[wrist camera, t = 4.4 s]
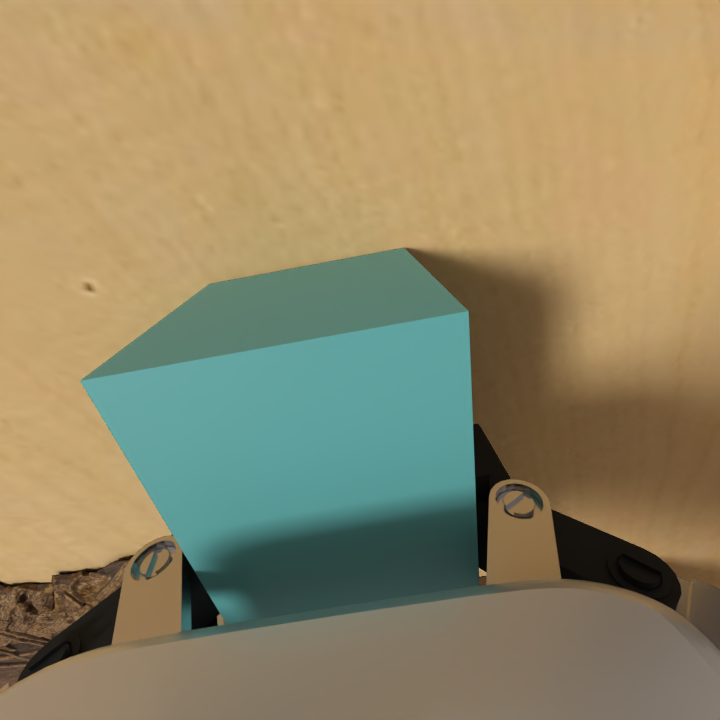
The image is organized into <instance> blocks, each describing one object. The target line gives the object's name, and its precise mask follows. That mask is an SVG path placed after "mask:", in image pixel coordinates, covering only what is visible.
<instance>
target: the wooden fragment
mask: <svg viewBox="0 0 720 720" xmlns="http://www.w3.org/2000/svg"><path fill="white" fill-rule="evenodd" d="M130 560H131V559H128V560H122V561H116V562H113V563H110V565H107V566H106V567H104V568H102V569H101V570H99V571H96V572H91V573H87V572H86V571H80V572H77V573H73V574H62V575H52V583H43V584H39V585H37V584H31V583H28V584H23V585H18V586H14V587H10V585H9V586H8V587H4V586H3V585H1V584H0V689H1V688H2V687H3V686H5V685H6V684H7V683H10V684H11V685H14V684H15V683H17V681H18V678H19V676H20V674H21V672H22V671H23V669H24V668H25V666H26V665H27V663H28V662H29V661H30V660H31V658H32V657H33V656H34V655H35V654H36V653H37V652H38V651H39V650H40V649H41V648H42V647H43V646H44V645H46V644H47V643H48V642H49V641H50V640H52V639H53V638H54V637H56V636H57V635H58V634H59V633H61V632H62V631H63V630H65V629H66V628H67V627H69V626H70V625H71V624H72V623H74V622H75V621H76V620H78V619H79V618H80V617H82V616H83V615H84V614H86V613H87V612H88V611H89V610H91V609H92V608H93V607H95V606H96V605H97V604H99V603H100V602H101V601H102V600H104V599H105V598H106V597H108V596H109V595H110V594H112V593H113V592H114V591H116V590H117V589H118V588H119V587H121V586H122V582H123V576H124V572H125V569H126V566H127V564H128V563H129V561H130ZM223 623H224V625H226V623H225V621H224V619H223Z"/></svg>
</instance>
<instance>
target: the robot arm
mask: <svg viewBox="0 0 720 720" xmlns="http://www.w3.org/2000/svg"><path fill="white" fill-rule="evenodd" d="M473 437H474V462H475V488H476V514H477V540H478V566H479V568H480V569H482V570H484V571H485V572H487V581H486V585H483V586H475V587H467V588H460V589H453V590H446V591H439V592H433V593H426V594H419V595H412V596H406V597H399V598H392V599H386V600H379V601H372V602H366V603H359V604H353V605H346V606H340V607H333V608H327V609H321V610H314V611H308V612H301V613H295V614H289V615H282V616H276V617H269V618H263V619H257V620H251V621H244V622H238V623H232V624H226V625H224V623H223V618H222V616H221V614H220V613H219V611H218V609H217V608H216V606H215V604H214V603H213V601H212V599H211V598H210V596H209V594H208V593H207V591H206V589H205V588H204V586H203V584H202V583H201V581H200V579H199V578H198V576H197V574H196V573H195V571H194V569H193V568H192V566H191V564H190V563H189V561H188V559H187V558H186V556H185V555H184V553H183V551H182V550H181V548H180V546H179V545H178V543H177V541H176V540H175V538H174V536H173V535H171V536H163V537H160V538H157V539H155V540H153V541H151V542H149V543H148V544H146V545H145V546H144V547H142V548H141V549H140V550H139V551H138V552H137V553H136V554H135V555H134V556H133V557H132V558H131V560H130V561H129V563H128V564H127V566H126V569H125V572H124V576H123V582H122V586H121V587H119V588H118V589H117V590H116V591H114V592H113V593H112V594H110V595H109V596H108V597H106V598H105V599H104V600H102V601H101V602H100V603H99V604H97V605H96V606H95V607H93V608H92V609H91V610H89V611H88V612H87V613H86V614H84V615H83V616H82V617H80V618H79V619H78V620H76V621H75V622H74V623H72V624H71V625H70V626H69V627H67V628H66V629H65V630H63V631H62V632H61V633H59V634H58V635H57V636H56V637H54V638H53V639H52V640H50V641H49V642H48V643H47V644H46V645H44V646H43V647H42V648H41V649H40V650H39V651H38V652H37V653H36V654H35V655H34V656H33V657H32V658H31V660H30V661H29V662H28V663H27V665H26V666H25V668H24V669H23V671H22V672H21V674H20V676H19V678H18V681H17V683H15V684H14V685H11V684H10V683H7V684H6V685H5V686H3V687H2V688H1V689H0V720H720V589H718V588H716V587H713V586H711V585H709V584H706V583H704V582H702V581H699V580H697V579H695V578H693V579H692V582H689V581H687V580H684V579H682V578H680V577H678V576H676V574H675V573H674V572H673V570H672V569H671V568H670V567H669V566H668V565H667V564H666V563H665V562H664V561H663V560H661V559H660V558H659V557H657V556H656V555H655V554H653V553H651V552H649V551H647V550H645V549H643V548H641V547H638V546H636V545H634V544H631V543H629V542H627V541H624V540H622V539H620V538H617V537H615V536H613V535H610V534H608V533H606V532H603V531H601V530H599V529H596V528H594V527H592V526H589V525H587V524H584V523H582V522H580V521H577V520H575V519H573V518H570V517H568V516H566V515H563V514H561V513H559V512H556V511H554V510H552V509H551V505H550V502H549V499H548V497H547V496H546V494H545V493H544V492H543V491H542V490H541V489H540V488H538V487H537V486H536V485H534V484H532V483H529V482H527V481H523V480H518V479H510V477H509V475H508V473H507V472H506V470H505V468H504V467H503V465H502V463H501V461H500V460H499V458H498V456H497V454H496V453H495V451H494V449H493V448H492V446H491V444H490V442H489V441H488V439H487V437H486V435H485V434H484V432H483V430H482V429H481V427H480V426H479V424H473Z"/></svg>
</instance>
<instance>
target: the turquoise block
mask: <svg viewBox="0 0 720 720" xmlns="http://www.w3.org/2000/svg"><path fill="white" fill-rule="evenodd" d="M80 382H81V383H82V385H83V387H84V388H85V390H86V392H87V393H88V395H89V397H90V398H91V400H92V402H93V403H94V405H95V407H96V408H97V410H98V412H99V413H100V415H101V417H102V418H103V420H104V422H105V423H106V425H107V427H108V428H109V430H110V432H111V433H112V435H113V437H114V438H115V440H116V442H117V443H118V445H119V446H120V448H121V450H122V451H123V453H124V455H125V456H126V458H127V460H128V461H129V463H130V465H131V466H132V468H133V470H134V471H135V473H136V475H137V476H138V478H139V480H140V481H141V483H142V485H143V486H144V488H145V490H146V491H147V493H148V495H149V496H150V498H151V500H152V501H153V503H154V505H155V506H156V508H157V510H158V511H159V513H160V515H161V516H162V518H163V520H164V521H165V523H166V525H167V526H168V528H169V530H170V531H171V533H172V535H173V536H174V538H175V540H176V541H177V543H178V545H179V546H180V548H181V550H182V551H183V553H184V555H185V556H186V558H187V559H188V561H189V563H190V564H191V566H192V568H193V569H194V571H195V573H196V574H197V576H198V578H199V579H200V581H201V583H202V584H203V586H204V588H205V589H206V591H207V593H208V594H209V596H210V598H211V599H212V601H213V603H214V604H215V606H216V608H217V609H218V611H219V613H220V614H221V616H222V618H223V619H224V621H225V623H226V624H232V623H238V622H244V621H251V620H257V619H263V618H269V617H276V616H282V615H289V614H295V613H301V612H308V611H314V610H321V609H327V608H333V607H340V606H346V605H353V604H359V603H366V602H372V601H379V600H386V599H392V598H399V597H406V596H412V595H419V594H426V593H433V592H439V591H446V590H453V589H460V588H467V587H475V586H479V566H478V540H477V514H476V488H475V462H474V437H473V411H472V385H471V359H470V333H469V311H468V310H467V309H466V308H465V307H464V306H463V305H462V304H461V303H460V302H459V301H458V300H457V299H456V298H455V297H454V296H453V295H452V294H451V293H450V292H449V291H448V290H447V289H446V288H445V287H444V286H443V285H442V284H441V283H440V282H439V281H437V280H436V279H435V278H434V277H433V276H432V275H431V274H430V273H429V272H428V271H427V270H426V269H425V268H424V267H423V266H422V265H421V264H420V263H419V262H418V261H417V260H416V259H415V258H414V257H413V256H412V255H411V254H410V253H409V252H408V251H407V250H406V249H405V248H400V249H395V250H389V251H384V252H378V253H373V254H368V255H362V256H357V257H352V258H346V259H341V260H336V261H330V262H325V263H319V264H314V265H309V266H303V267H298V268H293V269H287V270H282V271H277V272H271V273H266V274H260V275H255V276H250V277H244V278H239V279H234V280H228V281H223V282H218V283H212V284H209V285H207V286H206V287H205V288H203V289H202V290H201V291H199V292H198V293H197V294H195V295H194V296H193V297H191V298H190V299H189V300H187V301H186V302H185V303H183V304H182V305H181V306H179V307H178V308H177V309H175V310H174V311H173V312H171V313H170V314H169V315H167V316H166V317H165V318H163V319H162V320H161V321H159V322H158V323H157V324H155V325H154V326H153V327H151V328H150V329H149V330H147V331H146V332H145V333H143V334H142V335H141V336H139V337H138V338H137V339H135V340H134V341H133V342H131V343H130V344H129V345H127V346H126V347H125V348H123V349H122V350H121V351H119V352H118V353H117V354H115V355H114V356H113V357H111V358H110V359H109V360H107V361H106V362H105V363H103V364H102V365H101V366H99V367H98V368H97V369H95V370H94V371H93V372H91V373H90V374H89V375H87V376H86V377H85V378H83V379H82V380H81V381H80Z"/></svg>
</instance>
